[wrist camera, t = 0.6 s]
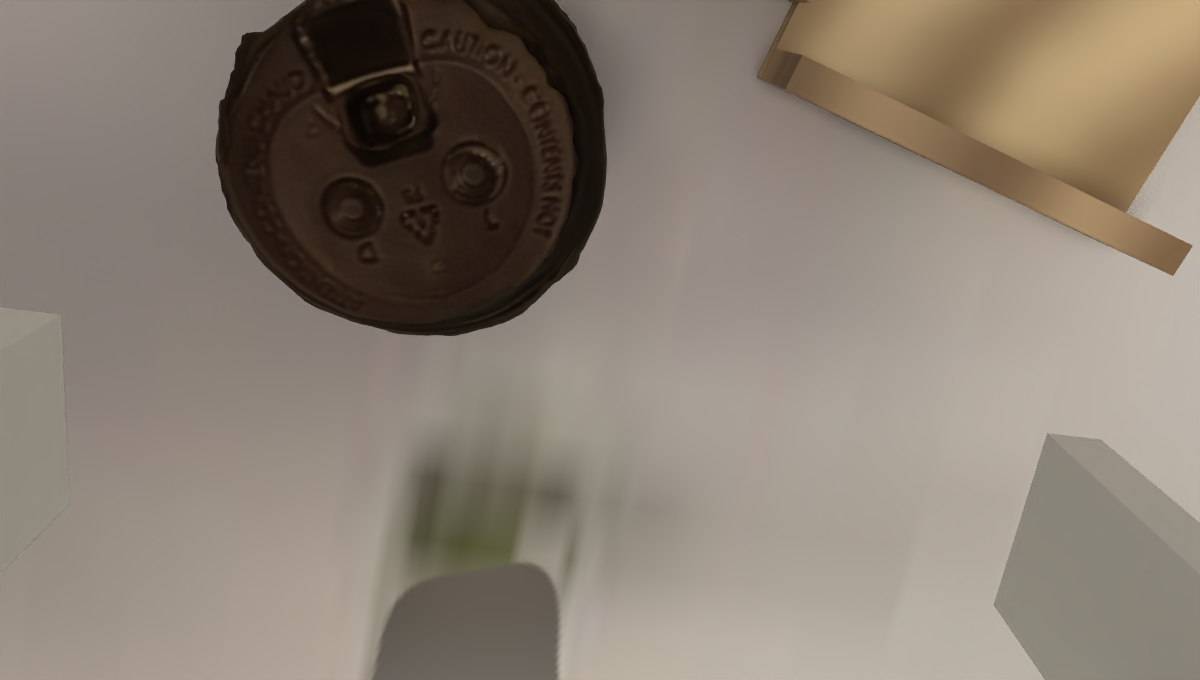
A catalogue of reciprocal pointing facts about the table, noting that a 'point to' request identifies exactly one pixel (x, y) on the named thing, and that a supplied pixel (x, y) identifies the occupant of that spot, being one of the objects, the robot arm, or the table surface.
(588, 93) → the coffee cup
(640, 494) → the table surface
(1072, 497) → the robot arm
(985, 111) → the wooden stepped block
